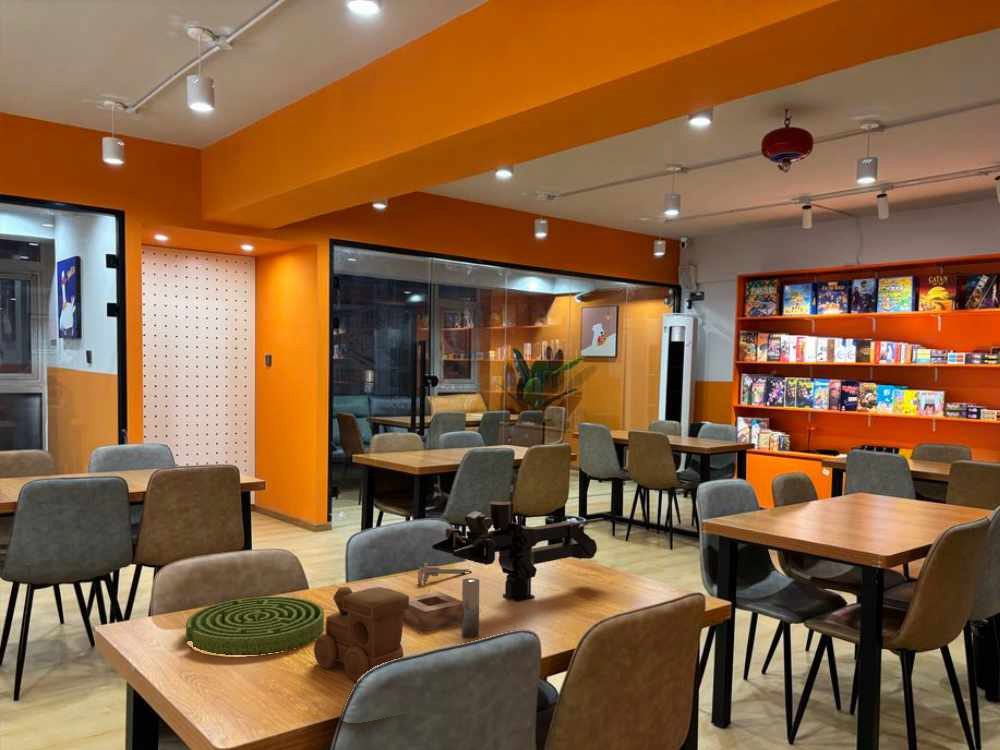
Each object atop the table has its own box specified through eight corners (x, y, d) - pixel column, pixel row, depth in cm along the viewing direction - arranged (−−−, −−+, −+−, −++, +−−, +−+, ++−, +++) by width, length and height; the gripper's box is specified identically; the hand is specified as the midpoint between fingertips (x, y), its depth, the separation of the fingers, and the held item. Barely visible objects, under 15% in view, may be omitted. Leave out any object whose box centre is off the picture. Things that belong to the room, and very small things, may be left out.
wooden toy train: (412, 674, 161) (413, 593, 161) (368, 691, 152) (369, 606, 152) (351, 650, 174) (352, 575, 174) (308, 664, 165) (308, 586, 165)
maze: (167, 631, 186) (167, 610, 186) (289, 606, 206) (289, 587, 206) (214, 670, 162) (214, 646, 162) (347, 638, 182) (347, 616, 182)
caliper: (420, 585, 226) (420, 564, 226) (417, 584, 227) (417, 563, 227) (472, 573, 240) (472, 552, 240) (470, 572, 241) (470, 552, 241)
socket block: (439, 606, 206) (439, 589, 206) (471, 620, 195) (471, 602, 195) (393, 616, 197) (393, 599, 197) (423, 631, 186) (424, 613, 186)
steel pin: (472, 631, 187) (472, 577, 187) (482, 636, 184) (482, 580, 183) (458, 634, 184) (459, 579, 184) (468, 639, 181) (469, 583, 181)
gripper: (470, 506, 216) (422, 512, 206) (513, 517, 201) (464, 524, 191) (470, 546, 216) (422, 555, 206) (513, 560, 201) (464, 569, 191)
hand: (442, 550), depth 199 cm, fingers open, 9 cm apart
